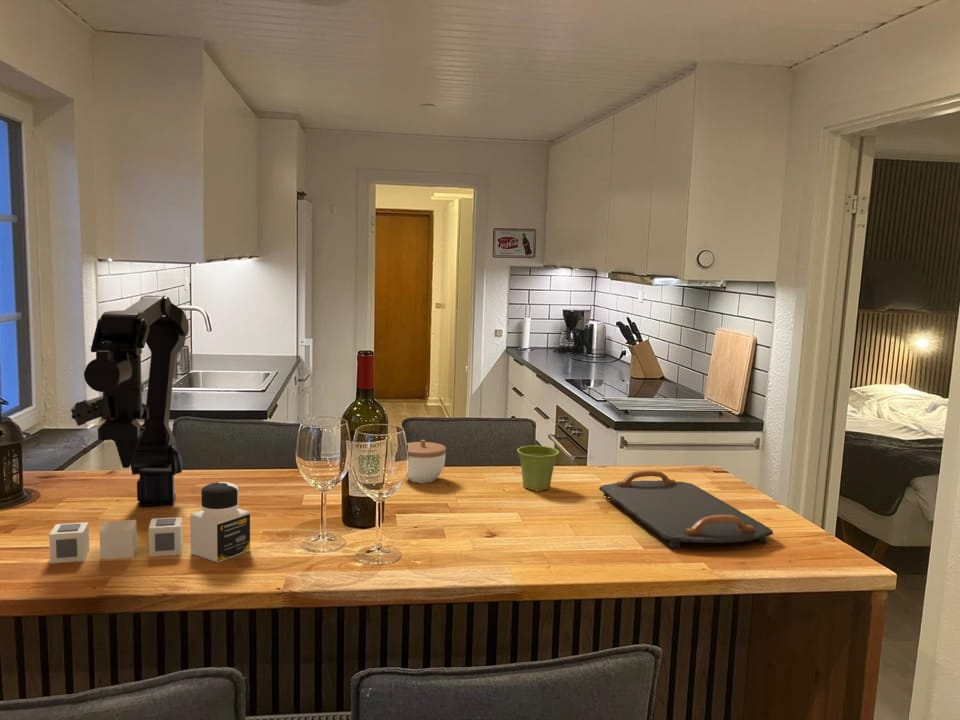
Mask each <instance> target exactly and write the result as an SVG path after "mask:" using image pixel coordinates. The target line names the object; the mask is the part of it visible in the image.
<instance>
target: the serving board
mask: <svg viewBox="0 0 960 720" xmlns="http://www.w3.org/2000/svg"><path fill="white" fill-rule="evenodd" d="M642 477H643V478H644V477H655V478H661V480H660V479H659V480H658V479H657V480H644V479H643V480H636V479H638V478H642ZM598 489H599V490H598V491H601V492H602V493H603V497H604V496H606V497H610V498H611V500H612V501H613V502H614V503H616V504H617V505H619V506H621V507H622V508H623V509H624V510H625V511H627V513H629V514H630V515H632V516H634V517H635V518H636V519H637V520H639V522H640V523H642V524H644V525H646V526H647V527H648V528H649V529H651V530H652V531H653V532H655V533H656V534H657V535H659V536H660V537H661V538H663V539H664V540H667V541H669V542H668V546H669V549H672V550H675V549H677V550H680V548H681V546H682V544H681V543H700V544H709V543H710V544H724V543H725V544H726V543H728V544H729V543H740V542H750V541H755V543H756V542H757V544H759V545H766V544H767V542H768V539H767V537H769V536H772V535H774V532H773V529H771V528H770V527H769V526H766V525H764V524H763V523H761V522H760V521H758V520H756V519H754V518H753V517H751V516H749V515H748V514H746V513H744V512H742V511H740V510H739V509H737V508H736V507H733V506H731V505H730V504H728V503H727V502H725V501H723V500H721V499H720V498H718V497H716V496H715V495H713V494H712V493H709V492H707V491H706V490H703V489H702V488H700V487H699V486H696V485H695V484H694V483H691V482H684V481H676V480H675V479H670V478H669V477H668V476H667V475H666V474H665V473H664V472H662V471H658V470H652V469H651V470H650V469H649V470H637V471H634V472H633V471H632V472H631V473H629V474H628V475H626V476H625V478H624V479H623V480H621V481H617V482H614V483H613V482H612V483H608V484H604V485H600V486H599V488H598ZM765 543H766V544H765Z"/></svg>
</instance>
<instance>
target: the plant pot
mask: <svg viewBox="0 0 960 720" xmlns="http://www.w3.org/2000/svg"><path fill="white" fill-rule="evenodd" d="M516 451H517V453H518V457H519V459H520V466H521V467H520V468H521V475H522V476H521V479H522V487H523V488H524V489H528V490H529V489H530V491H532V490H543V491H544V490H549V489H550V488H551V482H552V477H553V473H554V472H553V471H554V468H555V463H556V460H557V456H559V454H560V451H559V450H558V449H556V448H554V447H550V446H545V445H525V446H520V447H519V448H517V450H516Z"/></svg>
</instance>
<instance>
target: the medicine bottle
mask: <svg viewBox="0 0 960 720" xmlns="http://www.w3.org/2000/svg"><path fill="white" fill-rule="evenodd" d="M200 492H201V510H198V511H196V512H193V513H191V514H190V515H189V525H190V527H189V528H190V529H189V530H190V531H189V533H190V536H189V538H190V555H191V554H192V555H193V556H197V557H199V558H202V559H205V560H208V561H212V562H215V563H221V562H224V561H226V560H229V559H232V558H235V557H238V556H240V555H242V554H245V553H248V552H250V551H251V512H250V511H249V510H244V509H241V508H239V507H240V506H239V502H240V501H239V500H240V499H239V498H240V497H239V496H240V495H239V494H240V493H239V492H240V491H239V487H238V486H237V484H235V483H232V482H227V481H218V482H212V483H209V484H207V485H205V486H203V487H202V488H201V491H200Z"/></svg>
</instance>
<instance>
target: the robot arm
mask: <svg viewBox="0 0 960 720" xmlns="http://www.w3.org/2000/svg"><path fill="white" fill-rule="evenodd" d="M189 329H190V324H189V321H188V318H187V315H186V313H185V311H184V310H183V309H182V308H180V307H179V306H177V305H176V304H174V303H173V302H172V300H171V299H170V297H169V296H166V295H163V294H161V295H159V294H155V295H154V294H145V295H142V296H141V297H140V299H139V300H137V301H136V302H135V303H132V304H131V305H130V306H129V307H127V308H126V309H124V310H109V311H104V312H103V313H102V314H101V316H100V317H99V318H98V320H97V322H96V326H95V330H94V334H93V339H92V342H91V347H90V353H95V359H93V360H91V361H89V363H87V365H86V367H85V369H84V371H83V377H84V381H85V383H86V385H87V386H88V387H89V388H90V389H92V390H93V391H95V392H98V393H99V392H100V393H102V395H101V396H98V397H95V398H92V399H91V398H90V399H89V400H87V399H83V400H82V401H77V402H76V403H75V404H74V406H72V407H71V408H70V412H71V419H72V420H75V423H76V425H77V426H78V427H79V426H82V425H85V424H86V423H88V422H91V421H94V420H95V419H99V418H101V417H102V420H103V422H102V423H101V424H100V426H99V427H98V428H97V440H98V441H113V442H114V444H115V446H116V450H117V454H118V456H119V461H120V463H121V466H122V468H123V469H128V468H130V469H131V474H132V475H133V476H135V475H139V478H138V479H137V481H136V501H137V502H138V506H139V507H155V506H171V505H174V504H175V500H176V496H177V494H176V492H175V476H176V475H177V474H180V473H182V472H183V458H182V455H181V454H180V451H179V449H178V446H177V444H176V442H177V441H176V437H175V435H174V433H173V431H172V430H171V428H170V415H171V414H170V413H171V403H172V392H173V381H174V372H175V371H174V370H175V363H176V356H177V355H178V354H179V353H180V351H182V349H183V348H184V346H185V343H186V337H187V336H188V335H189V332H190V331H189ZM145 345H147V347H148V349H149V351H150V353H151V354H150V364H149V371H148V372H149V373H148V374H149V375H148V384H147V391H146V392H147V393H146V399H145V400H146V402H145V403H144V402H143V394H142V393H143V392H144V385H143V384H142V353H143V349H145ZM141 418H143V420H144V421H143V423H142V424H141V423H140V422H139V420H138V419H141Z"/></svg>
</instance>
